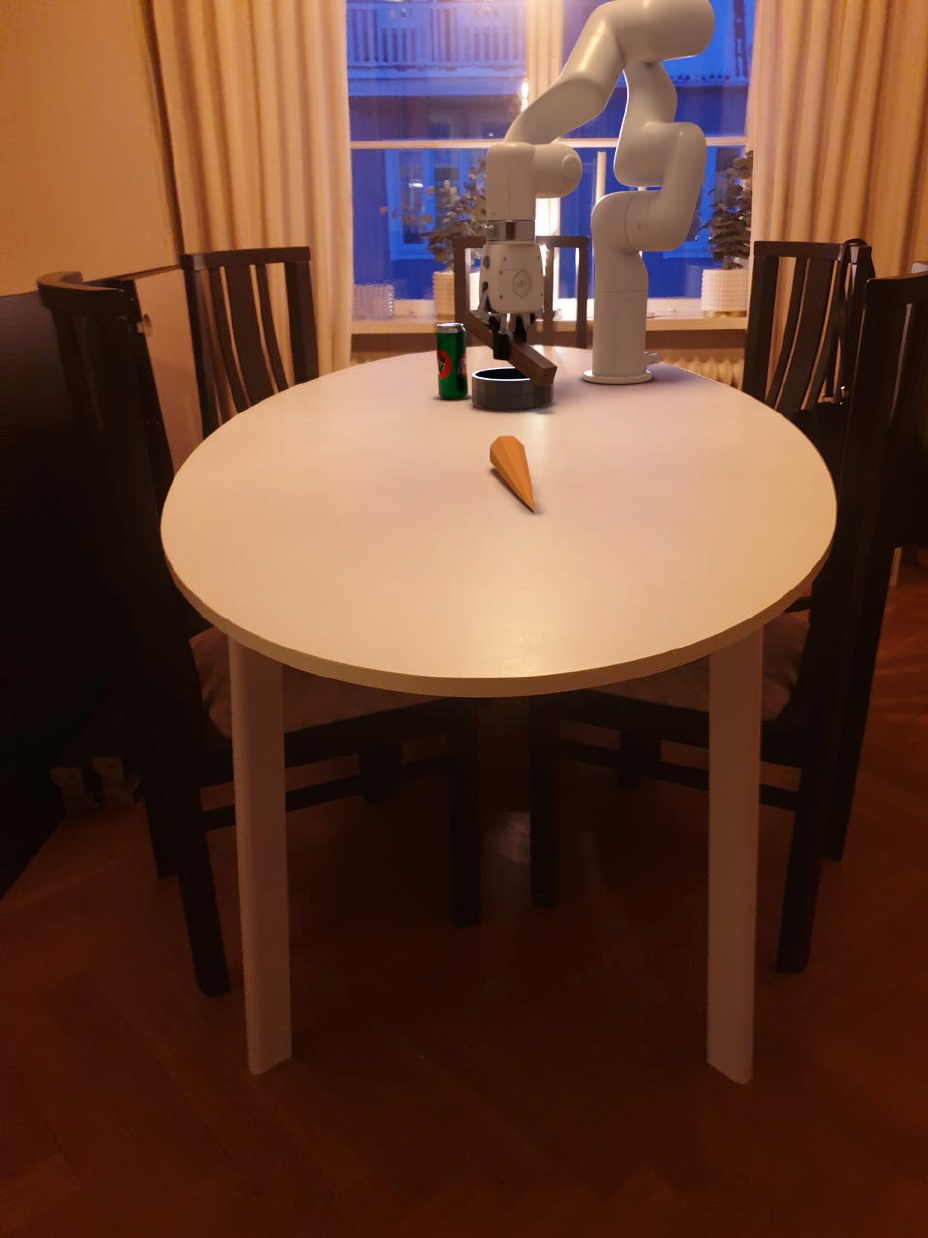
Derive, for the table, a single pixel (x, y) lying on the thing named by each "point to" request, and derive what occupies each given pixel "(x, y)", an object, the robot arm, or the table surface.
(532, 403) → the bowl
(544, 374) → the rectangular bar
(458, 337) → the soda can
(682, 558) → the table surface
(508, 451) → the carrot
